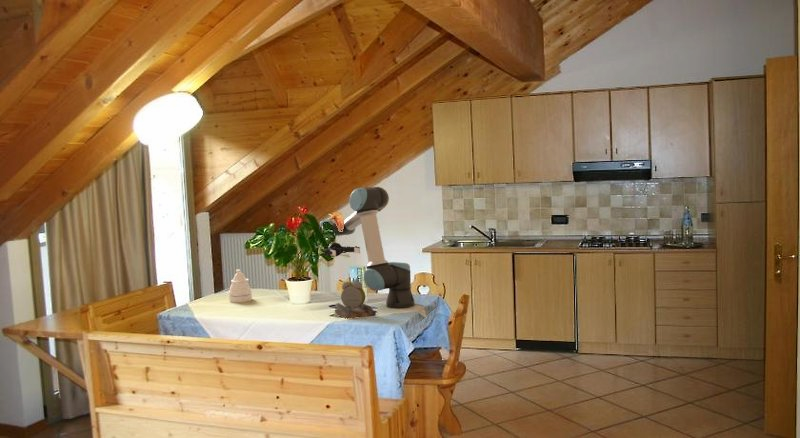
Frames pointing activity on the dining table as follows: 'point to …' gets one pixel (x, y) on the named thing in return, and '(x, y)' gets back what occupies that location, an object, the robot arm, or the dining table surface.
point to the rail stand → (356, 312)
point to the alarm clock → (353, 295)
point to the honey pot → (240, 288)
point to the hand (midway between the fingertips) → (347, 252)
